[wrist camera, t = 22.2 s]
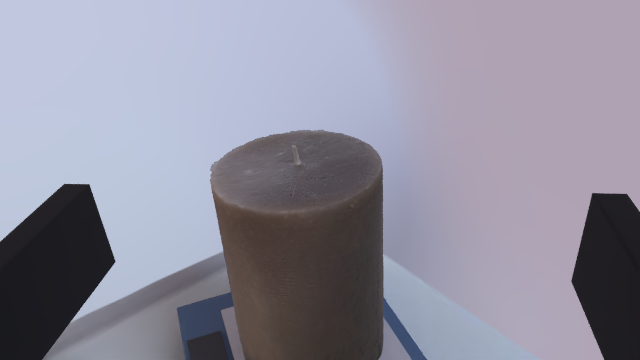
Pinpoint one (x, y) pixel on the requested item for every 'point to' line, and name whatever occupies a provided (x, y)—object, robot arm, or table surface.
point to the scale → (224, 342)
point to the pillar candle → (303, 245)
